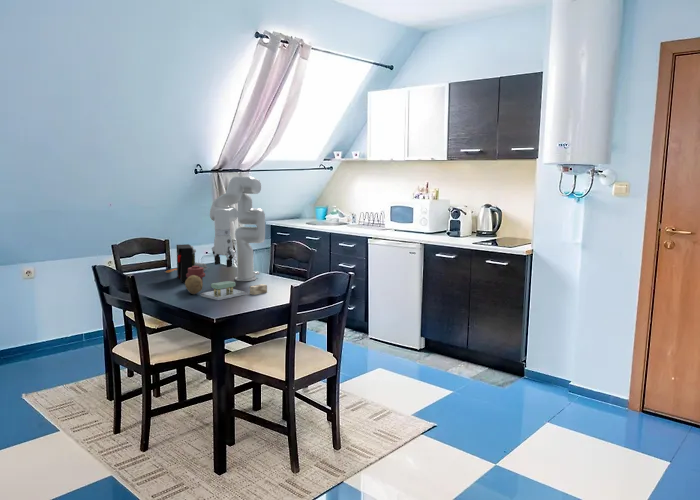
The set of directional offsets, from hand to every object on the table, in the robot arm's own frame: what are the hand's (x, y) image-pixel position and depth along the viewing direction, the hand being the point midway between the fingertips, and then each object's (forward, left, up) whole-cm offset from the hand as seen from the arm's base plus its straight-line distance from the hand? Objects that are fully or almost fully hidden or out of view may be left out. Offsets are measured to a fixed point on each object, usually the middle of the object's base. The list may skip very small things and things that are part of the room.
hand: (223, 265), depth 282 cm
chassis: (+1, 0, -16) cm, 16 cm away
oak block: (-15, +9, -16) cm, 24 cm away
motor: (-27, -72, -16) cm, 79 cm away
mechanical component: (0, -25, -16) cm, 29 cm away
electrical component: (-11, -50, -16) cm, 53 cm away
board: (+1, 0, -11) cm, 11 cm away
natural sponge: (+9, -14, -16) cm, 22 cm away
